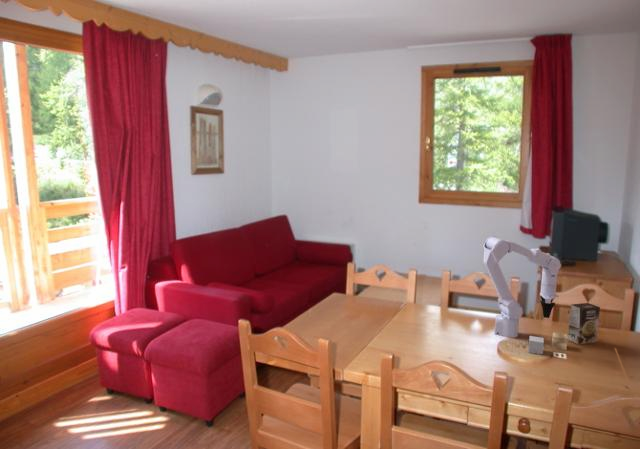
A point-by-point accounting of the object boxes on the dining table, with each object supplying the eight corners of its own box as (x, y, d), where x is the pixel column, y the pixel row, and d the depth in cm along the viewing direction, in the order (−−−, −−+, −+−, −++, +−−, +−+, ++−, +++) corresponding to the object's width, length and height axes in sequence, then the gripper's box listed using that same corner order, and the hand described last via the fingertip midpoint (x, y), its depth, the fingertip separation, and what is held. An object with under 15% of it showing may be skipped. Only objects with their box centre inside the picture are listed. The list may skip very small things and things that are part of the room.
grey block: (528, 352, 185) (529, 340, 184) (528, 347, 190) (529, 335, 189) (542, 354, 183) (543, 342, 182) (542, 349, 188) (543, 337, 187)
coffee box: (578, 347, 193) (582, 309, 191) (566, 340, 200) (570, 303, 197) (596, 344, 196) (600, 307, 193) (584, 338, 202) (588, 302, 199)
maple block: (552, 348, 190) (553, 336, 189) (551, 343, 194) (552, 332, 193) (566, 350, 188) (567, 338, 187) (565, 345, 192) (566, 334, 191)
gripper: (560, 289, 193) (557, 321, 195) (558, 280, 206) (556, 310, 208) (540, 287, 196) (538, 319, 198) (540, 278, 209) (538, 308, 211)
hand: (546, 314), depth 204 cm, fingers open, 7 cm apart
